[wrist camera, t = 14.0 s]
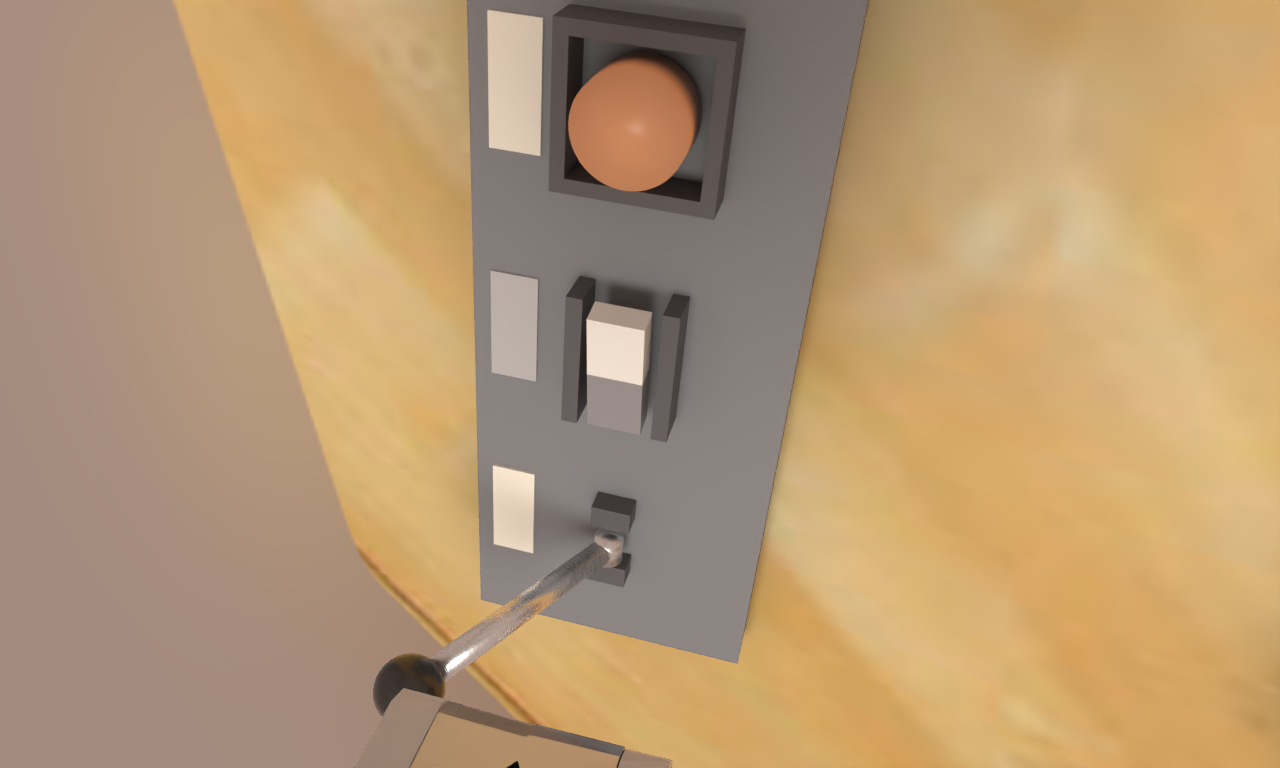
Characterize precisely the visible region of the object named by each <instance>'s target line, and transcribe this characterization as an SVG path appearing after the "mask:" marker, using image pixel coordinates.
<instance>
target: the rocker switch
mask: <svg viewBox="0 0 1280 768" xmlns="http://www.w3.org/2000/svg"><path fill="white" fill-rule="evenodd" d="M586 321H587V424H590V425H595V426H600V427H604V428H609V429H614V430H618V431H623V432H628V433H632V434H637V435H640V434H641V431H642V428H643V426H644V423H645V420H646V417H647V405H648V386H649V366H650V347H651V328H652V312H648V311H643V310H638V309H633V308H628V307H622V306H617V305H612V304H607V303H602V302H596V301H595V303H594V305H593V307H592V309H591V311H590V313H589V315H588V317H587V319H586Z"/></svg>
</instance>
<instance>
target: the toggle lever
mask: <svg viewBox="0 0 1280 768" xmlns="http://www.w3.org/2000/svg"><path fill="white" fill-rule="evenodd" d="M623 544H624V534H623V533H619V532H615V531H611V530H606V529H602V528H599V529H597V530H596V532H595V535H594V542H593V543H592V544H590V545H589V546H587V547H586V548H585V549H583V550H582V551H580V552H579V553H577V554H576V555H575V556H573V557H572V558H570V559H569V560H568V561H566V562H565V563H563V564H562V565H560V566H559V567H558V568H556V569H555V570H553V571H552V572H551V573H549V574H548V575H546V576H545V577H543V578H542V579H541V580H539V581H538V582H536V583H535V584H533V585H532V586H531V587H529V588H528V589H526V590H525V591H524V592H522V593H521V594H519V595H518V596H516V597H515V598H514V599H512V600H511V601H509V602H508V603H507V604H505V605H504V606H502V607H501V608H499V609H498V610H497V611H495V612H494V613H492V614H491V615H489V616H488V617H487V618H485V619H484V620H482V621H481V622H480V623H478V624H477V625H475V626H474V627H472V628H471V629H470V630H468V631H467V632H465V633H464V634H463V635H461V636H460V637H458V638H457V639H455V640H454V641H453V642H451V643H450V644H448V645H447V646H445V647H444V648H443V649H441V650H440V651H438V652H437V653H436V654H434V655H433V656H431V657H430V658H428V657H426V656H423V655H420V654H412V653H410V654H403V655H400V656H397V657H395V658H393V659H392V660H390V661H389V662H388V663H386V664H385V665H384V666H383V667H382V669H381V670H380V672H379V673H378V675H377V677H376V680H375V683H374V688H373V698H374V703H375V706H376V708H377V710H378V711H379V713H380V714H381V715H382V716H383V715H384V713H385V711H386V709H387V707H388V706H389V704H390V702H391V701H392V700H393V699H394V698H395V697H396V696H397V694H398V693H399V692H400V691H401V690H402V689H403V688H405V689H409V690H413V691H417V692H420V693H424V694H428V695H432V696H435V697H439V698H443V699H444V695H445V682H446V681H447V680H449V679H450V678H451V677H453V676H454V675H455V674H457V673H458V672H459V671H461V670H462V669H463V668H465V667H466V666H468V665H469V664H470V663H472V662H473V661H474V660H476V659H477V658H478V657H480V656H481V655H483V654H484V653H485V652H487V651H488V650H489V649H491V648H492V647H493V646H495V645H496V644H498V643H499V642H500V641H502V640H503V639H504V638H506V637H507V636H508V635H510V634H511V633H513V632H514V631H515V630H517V629H518V628H519V627H521V626H522V625H523V624H525V623H526V622H527V621H529V620H530V619H532V618H533V617H534V616H536V615H537V614H538V613H540V612H541V611H542V610H544V609H545V608H547V607H548V606H549V605H551V604H552V603H553V602H555V601H556V600H557V599H559V598H560V597H562V596H563V595H564V594H566V593H567V592H568V591H570V590H571V589H572V588H574V587H575V586H577V585H578V584H579V583H581V582H582V581H583V580H585V579H586V578H587V577H589V576H590V575H591V574H593V573H594V572H596V571H597V570H598V569H600V568H601V567H604V568H612V567H616V566H617V565H619V564H620V563H621V561H622V555H623Z"/></svg>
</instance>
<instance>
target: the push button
mask: <svg viewBox="0 0 1280 768" xmlns="http://www.w3.org/2000/svg"><path fill="white" fill-rule="evenodd" d="M701 119H702V110H701V103H700V98H699V95H698V92H697V90H696V88H695V86H694V84H693V82H692V80H691V79H690V77H689V76H688V75H687V74H686V73H685V71H684V70H683V69H682V68H681V67H679V66H678V65H677V64H676V63H674V62H673V61H671V60H669V59H668V58H666V57H664V56H661V55H658V54H655V53H650V52H632V53H627V54H624V55H621V56H618V57H617V58H615V59H613V60H611V61H610V62H609V63H607V64H606V65H605V66H604V67H603V68H602V69H601V70H600V71H599V72H598V73H597V74H596V75H595V76H594V77H592V78H591V79H590V80H589V81H588V82H587V83H586V84H585V85H584V86H583V87H582V88H581V90H580V91H579V92H578V94H577V95H576V97H575V99H574V101H573V103H572V106H571V109H570V113H569V121H568V131H569V137H570V141H571V145H572V148H573V150H574V153H575V155H576V156H577V158H578V160H579V161H580V163H581V164H582V166H583V167H584V168H585V169H586V170H587V171H588V172H589V173H590V174H591V175H592V176H593V177H594V178H596V179H597V180H599V181H600V182H602V183H603V184H605V185H607V186H610V187H612V188H615V189H619V190H623V191H644V190H648V189H652V188H654V187H657V186H659V185H661V184H662V183H664V182H665V181H667V180H668V179H669V178H670V177H671V176H672V175H673V174H674V173H675V172H676V171H677V169H678V168H679V166H680V165H681V163H682V162H683V160H684V158H685V157H686V155H687V154H688V152H689V150H690V149H691V147H692V145H693V144H694V142H695V140H696V138H697V136H698V133H699V130H700V126H701Z"/></svg>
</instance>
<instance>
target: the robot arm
mask: <svg viewBox="0 0 1280 768" xmlns="http://www.w3.org/2000/svg"><path fill="white" fill-rule="evenodd" d="M354 768H672V760H669V759H665V758H661V757H657V756H653V755H649V754H645V753H641V752H637V751H633V750H629V749H625V747H624V746H620V745H616V744H612V743H608V742H604V741H600V740H596V739H592V738H588V737H584V736H580V735H576V734H572V733H568V732H565V731H561V730H557V729H553V728H549V727H545V726H541V725H537V724H535V725H533V724H529V723H526V722H522V721H519V720H515V719H512V718H508V717H504V716H501V715H497V714H494V713H490V712H487V711H483V710H479V709H476V708H472V707H468V706H465V705H462V704H458V703H455V702H451V701H449V700H447V699H443V698H439V697H435V696H432V695H428V694H424V693H420V692H417V691H413V690H409V689H405V688H403V689H402V690H401V691H400V692H399V693H398V694H397V696H396V697H395V698H394V699H393V700H392V701H391V702H390V704H389V706H388V707H387V709H386V711H385V713H384V715H383V716H382V718H381V720H380V722H379V723H378V725H377V727H376V729H375V731H374V732H373V734H372V736H371V738H370V739H369V741H368V743H367V745H366V747H365V748H364V750H363V752H362V754H361V756H360V757H359V759H358V761H357V763H356V764H355V766H354Z"/></svg>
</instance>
